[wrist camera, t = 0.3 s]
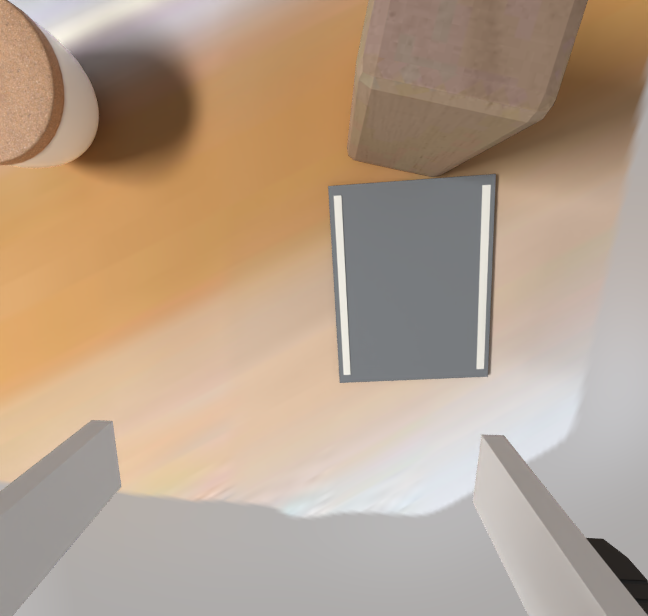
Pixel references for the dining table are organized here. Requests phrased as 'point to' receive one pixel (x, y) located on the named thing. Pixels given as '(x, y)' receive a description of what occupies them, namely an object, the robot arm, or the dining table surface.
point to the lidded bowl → (41, 96)
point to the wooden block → (455, 77)
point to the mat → (413, 277)
